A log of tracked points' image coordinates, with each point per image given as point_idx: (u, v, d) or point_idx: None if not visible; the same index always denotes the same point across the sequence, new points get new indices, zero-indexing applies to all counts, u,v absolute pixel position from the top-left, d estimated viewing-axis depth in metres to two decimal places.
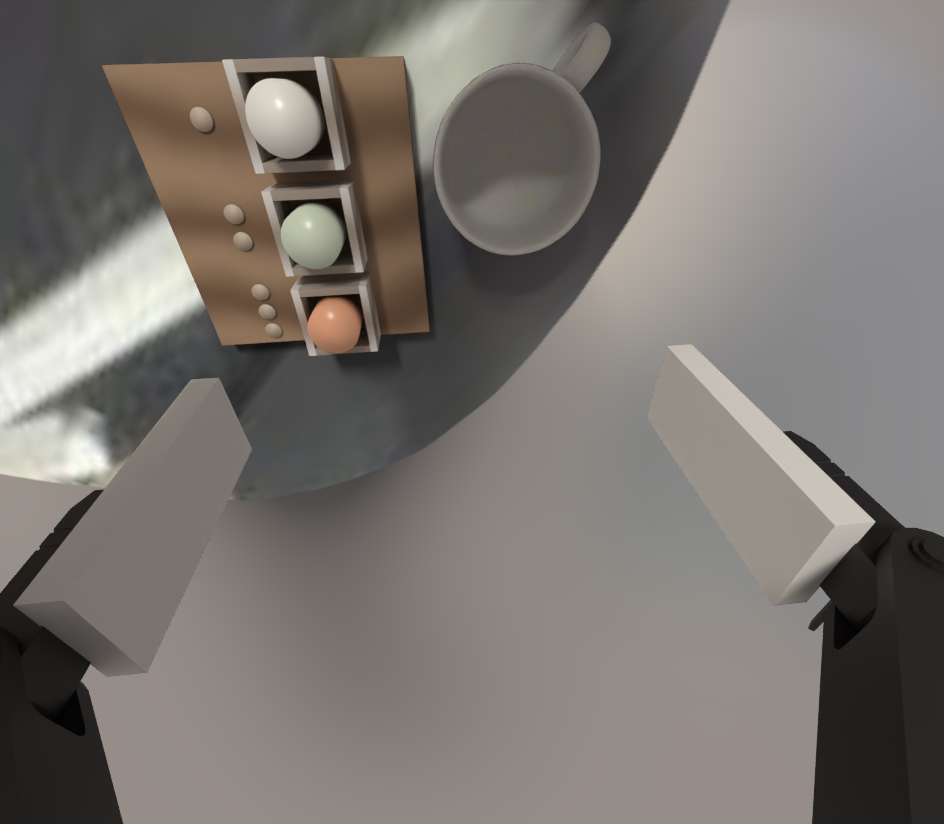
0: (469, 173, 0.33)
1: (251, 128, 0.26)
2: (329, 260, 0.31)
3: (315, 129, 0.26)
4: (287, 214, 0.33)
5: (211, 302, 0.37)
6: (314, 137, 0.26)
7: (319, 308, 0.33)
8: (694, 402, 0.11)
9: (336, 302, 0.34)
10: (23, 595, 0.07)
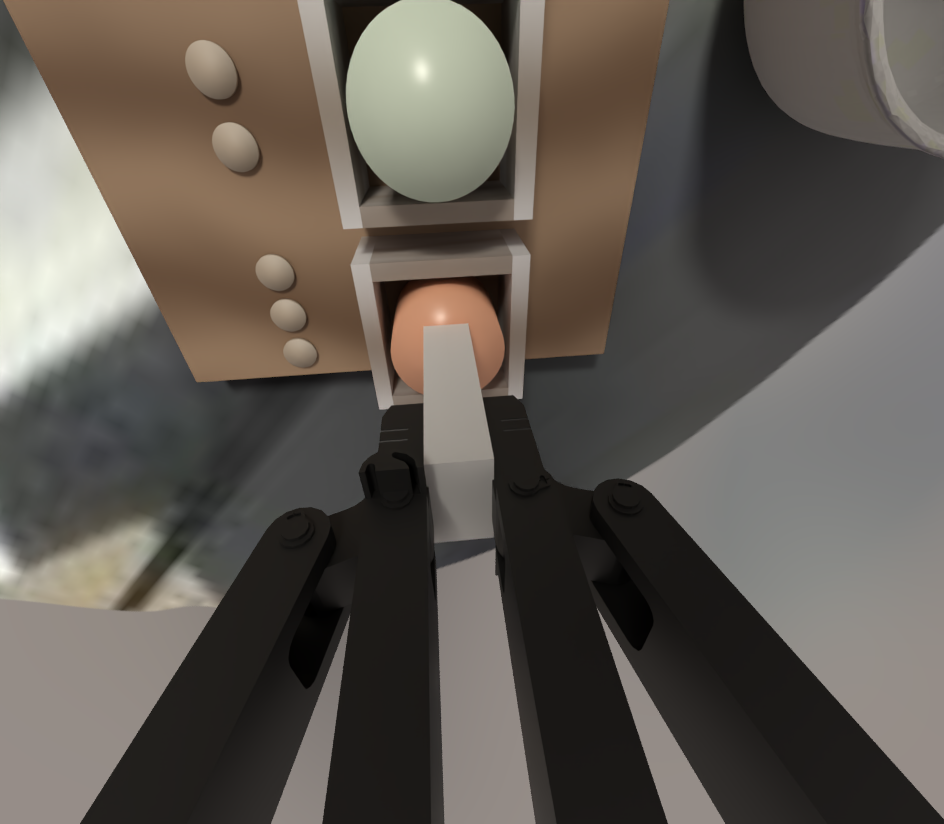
0: None
1: None
2: (473, 176, 0.11)
3: None
4: (348, 68, 0.13)
5: (169, 295, 0.17)
6: None
7: (423, 300, 0.14)
8: None
9: (457, 287, 0.15)
10: (427, 458, 0.09)
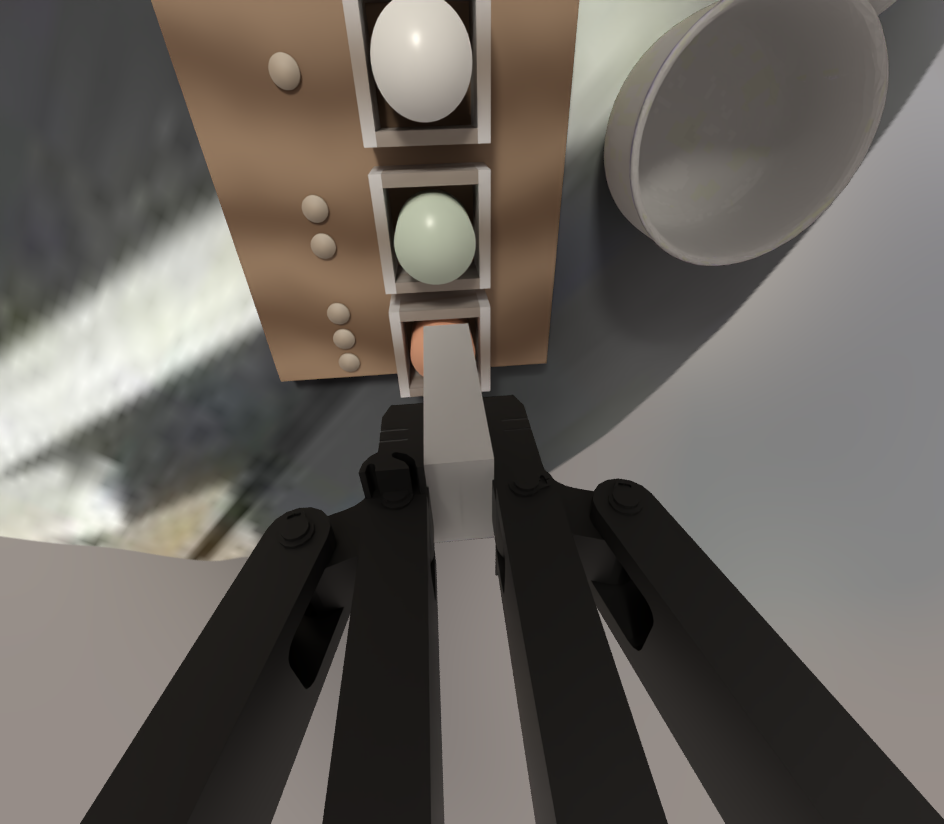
0: None
1: (375, 73, 0.17)
2: (456, 272, 0.22)
3: (469, 77, 0.17)
4: (389, 209, 0.24)
5: (272, 326, 0.28)
6: (466, 89, 0.18)
7: (429, 325, 0.26)
8: None
9: None
10: (427, 458, 0.09)
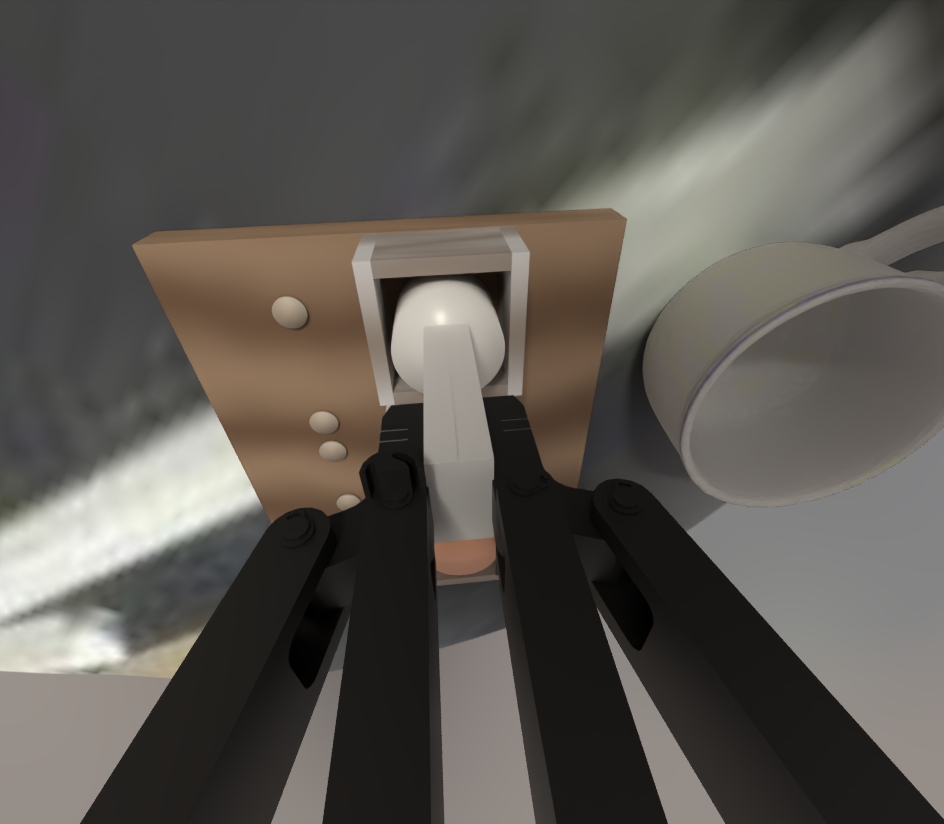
0: None
1: (396, 364, 0.15)
2: None
3: (501, 360, 0.16)
4: None
5: (277, 515, 0.26)
6: (497, 370, 0.16)
7: None
8: None
9: None
10: (427, 459, 0.09)
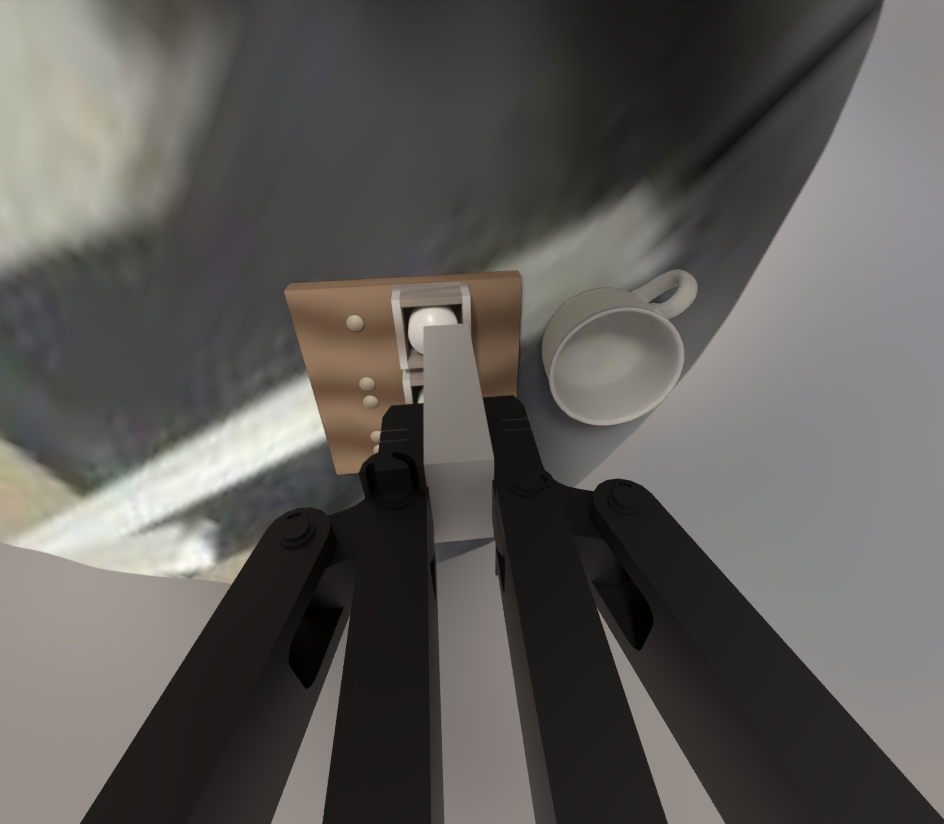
0: None
1: (410, 339, 0.34)
2: None
3: None
4: None
5: (334, 444, 0.43)
6: None
7: None
8: None
9: None
10: (427, 458, 0.09)
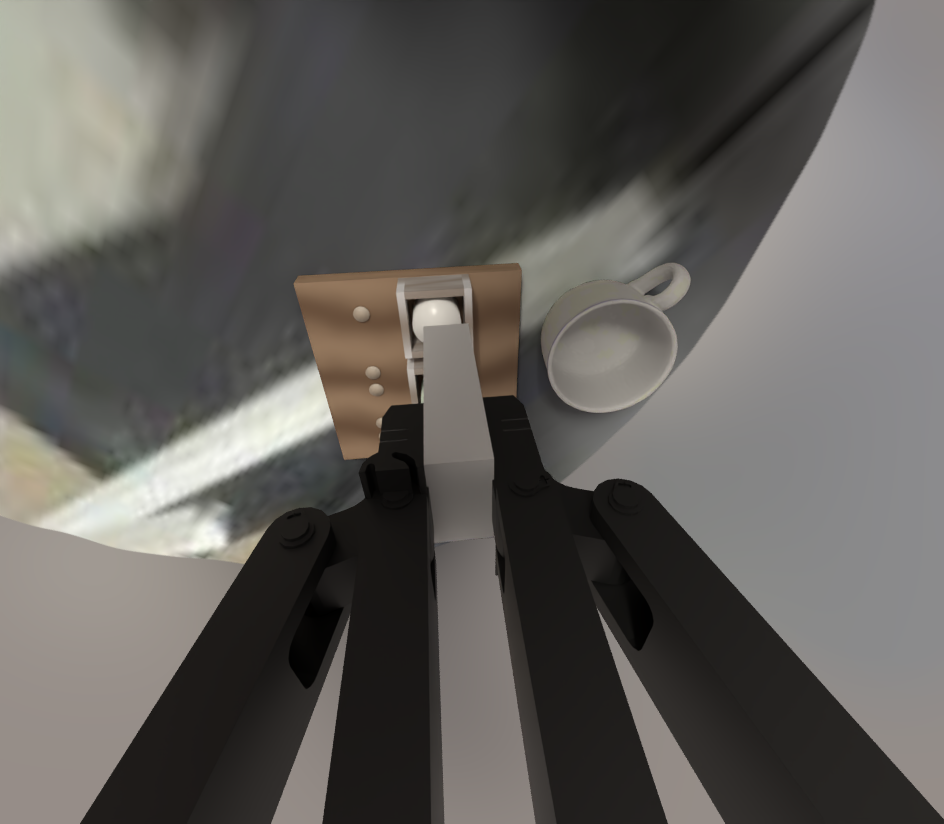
0: None
1: (414, 330, 0.35)
2: None
3: None
4: None
5: (342, 430, 0.45)
6: None
7: None
8: None
9: None
10: (427, 459, 0.09)
